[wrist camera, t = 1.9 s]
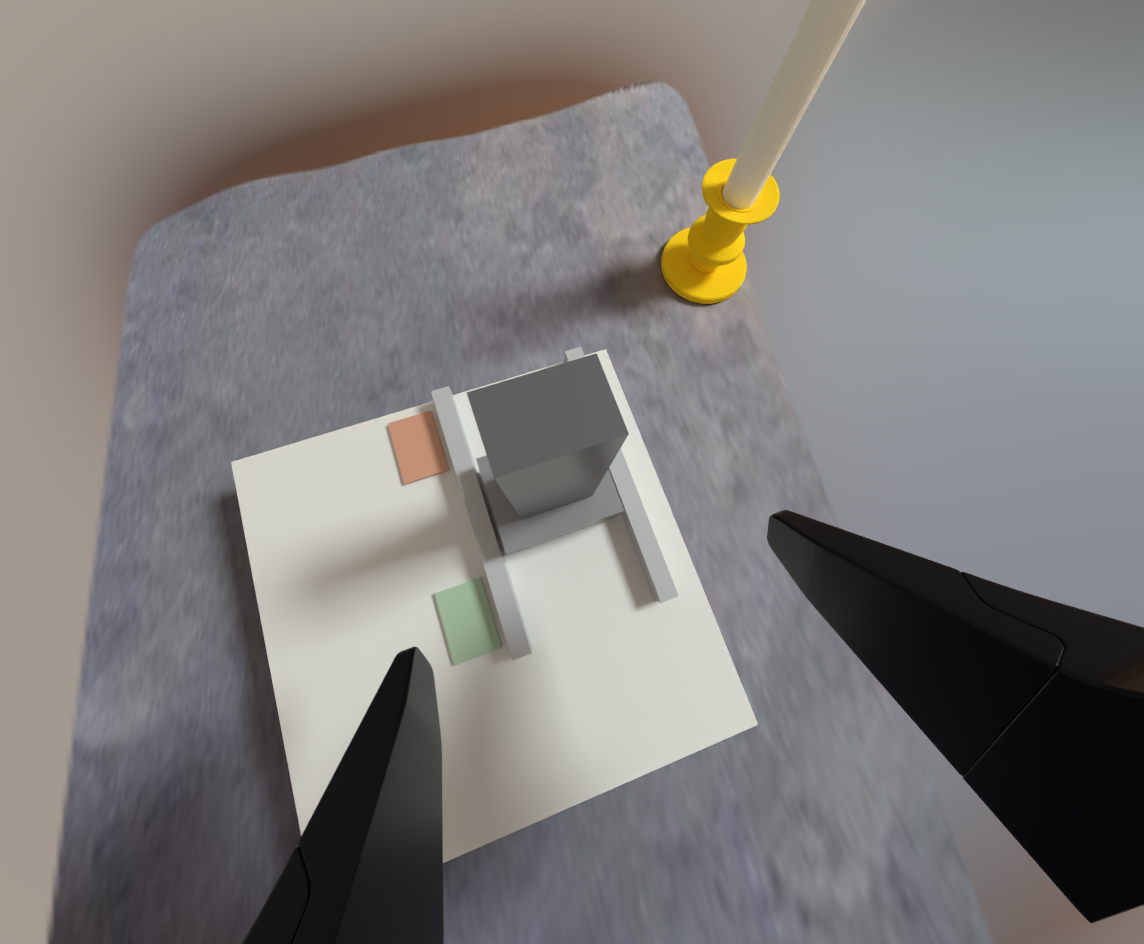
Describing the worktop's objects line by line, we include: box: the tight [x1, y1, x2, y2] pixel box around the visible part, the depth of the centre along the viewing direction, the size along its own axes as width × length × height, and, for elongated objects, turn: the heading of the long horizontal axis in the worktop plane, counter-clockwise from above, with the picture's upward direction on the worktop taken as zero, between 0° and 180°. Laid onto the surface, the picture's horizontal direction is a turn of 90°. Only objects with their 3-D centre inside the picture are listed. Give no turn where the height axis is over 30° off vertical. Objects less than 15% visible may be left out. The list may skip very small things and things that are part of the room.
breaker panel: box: [231, 347, 758, 863], centre depth 18 cm, size 18×18×4 cm
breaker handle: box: [467, 353, 629, 554], centre depth 14 cm, size 4×5×10 cm
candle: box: [661, 0, 866, 304], centre depth 18 cm, size 5×5×16 cm
